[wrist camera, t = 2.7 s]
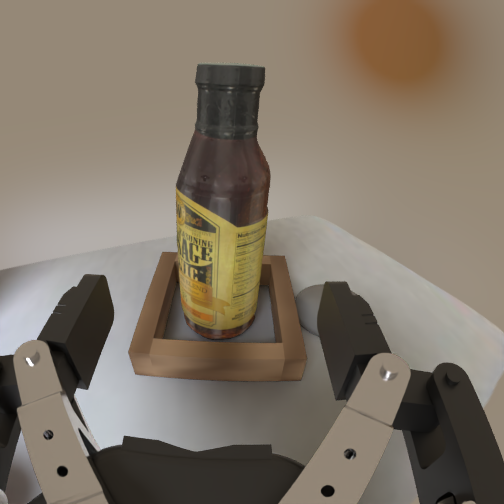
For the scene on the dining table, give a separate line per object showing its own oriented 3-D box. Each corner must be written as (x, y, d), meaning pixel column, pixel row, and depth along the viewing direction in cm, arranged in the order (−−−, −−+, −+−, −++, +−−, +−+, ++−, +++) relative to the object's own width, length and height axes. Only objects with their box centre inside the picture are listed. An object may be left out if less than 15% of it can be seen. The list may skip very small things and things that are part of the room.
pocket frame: (135, 374, 21) (128, 352, 20) (164, 272, 32) (162, 252, 31) (300, 380, 22) (307, 358, 21) (282, 276, 33) (284, 256, 32)
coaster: (299, 341, 25) (301, 336, 25) (289, 288, 31) (290, 283, 31) (377, 338, 26) (379, 333, 25) (356, 289, 32) (357, 284, 31)
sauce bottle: (173, 305, 28) (163, 64, 18) (236, 289, 31) (248, 66, 21) (199, 356, 23) (193, 59, 13) (271, 333, 26) (301, 67, 16)
